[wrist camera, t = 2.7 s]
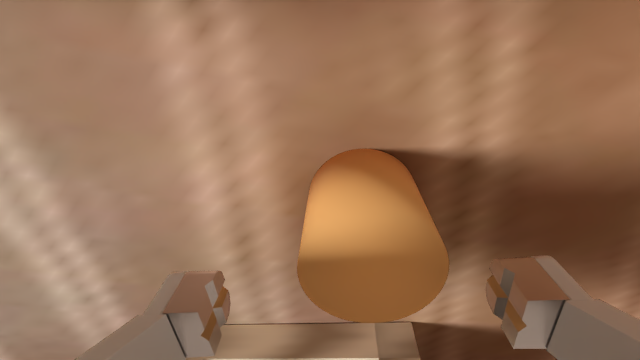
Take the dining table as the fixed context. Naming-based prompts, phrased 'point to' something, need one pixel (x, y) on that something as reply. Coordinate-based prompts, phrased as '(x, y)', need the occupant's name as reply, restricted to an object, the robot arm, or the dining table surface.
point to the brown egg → (369, 240)
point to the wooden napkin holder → (317, 342)
